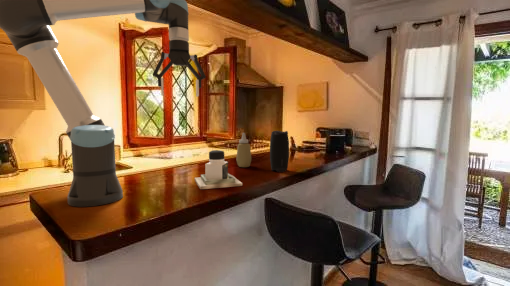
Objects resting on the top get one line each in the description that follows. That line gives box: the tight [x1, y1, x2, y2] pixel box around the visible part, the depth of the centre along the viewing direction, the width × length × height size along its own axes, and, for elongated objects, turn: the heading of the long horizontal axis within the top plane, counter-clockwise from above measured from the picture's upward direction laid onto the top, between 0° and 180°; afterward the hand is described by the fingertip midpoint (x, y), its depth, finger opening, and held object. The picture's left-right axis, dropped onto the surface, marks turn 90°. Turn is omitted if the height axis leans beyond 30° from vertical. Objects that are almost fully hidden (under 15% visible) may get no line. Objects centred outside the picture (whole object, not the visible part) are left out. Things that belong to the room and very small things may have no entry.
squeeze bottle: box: [236, 132, 252, 168], centre depth 147 cm, size 8×8×18 cm
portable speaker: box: [269, 130, 290, 173], centre depth 135 cm, size 9×9×20 cm
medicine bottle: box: [204, 149, 229, 180], centre depth 110 cm, size 7×7×12 cm
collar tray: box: [194, 172, 243, 190], centre depth 111 cm, size 16×16×2 cm
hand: (180, 95), depth 111 cm, fingers open, 13 cm apart
